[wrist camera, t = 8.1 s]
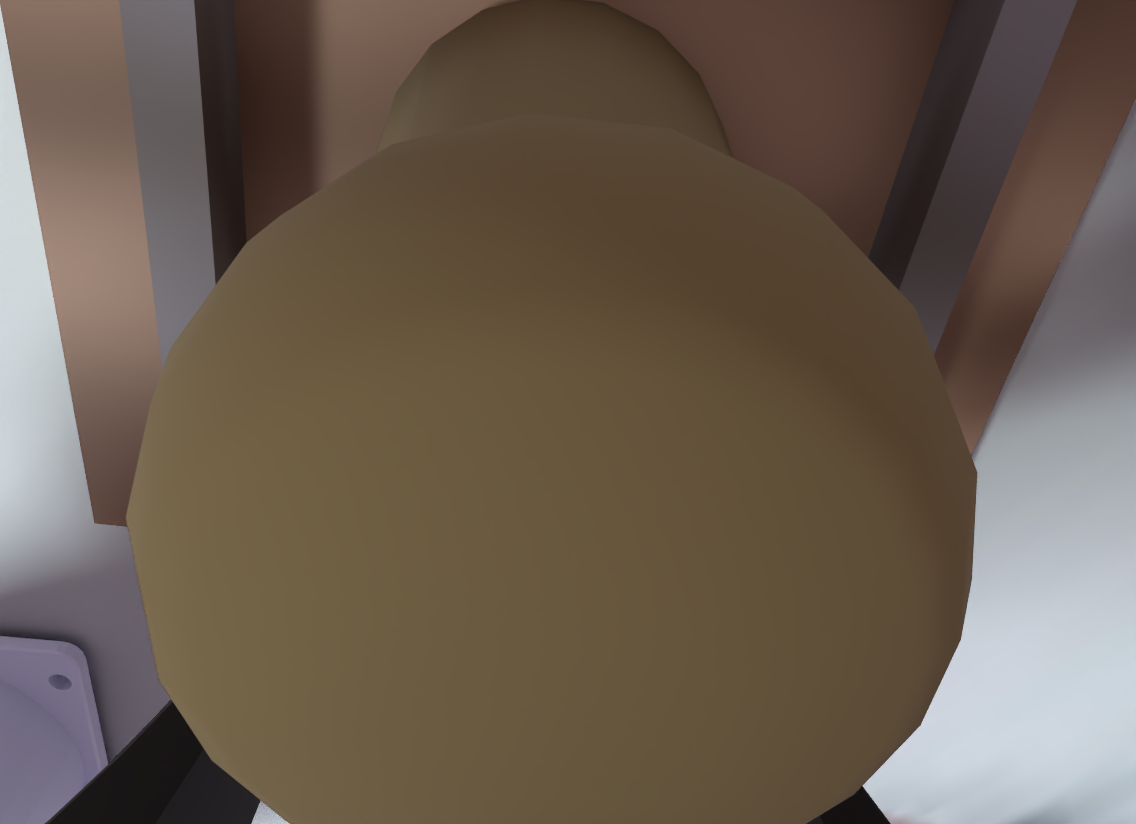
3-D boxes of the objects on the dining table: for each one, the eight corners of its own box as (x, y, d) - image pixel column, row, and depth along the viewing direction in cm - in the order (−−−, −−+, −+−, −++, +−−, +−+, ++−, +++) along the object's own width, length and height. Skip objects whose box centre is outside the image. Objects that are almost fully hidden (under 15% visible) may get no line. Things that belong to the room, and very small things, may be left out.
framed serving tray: (892, 586, 19) (929, 653, 17) (108, 506, 17) (55, 569, 15) (1277, -276, 11) (1421, -327, 9) (-71, -556, 10) (-219, -682, 8)
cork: (309, 85, 13) (-476, 435, 3) (669, -72, 12) (1231, -311, 2) (466, 395, 15) (323, 1096, 6) (768, 288, 14) (1203, 917, 5)
